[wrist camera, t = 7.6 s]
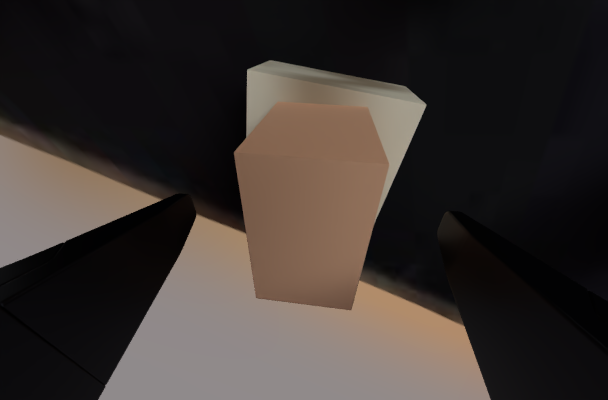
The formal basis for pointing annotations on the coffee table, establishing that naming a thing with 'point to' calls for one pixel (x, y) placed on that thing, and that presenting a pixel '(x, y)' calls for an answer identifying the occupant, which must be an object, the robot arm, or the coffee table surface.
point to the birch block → (338, 103)
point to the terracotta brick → (310, 200)
